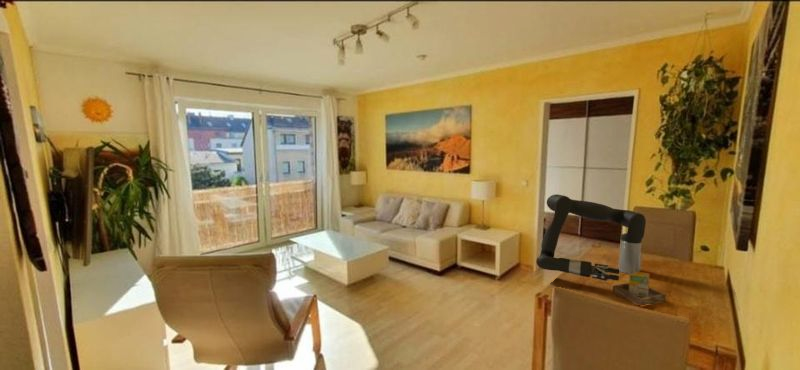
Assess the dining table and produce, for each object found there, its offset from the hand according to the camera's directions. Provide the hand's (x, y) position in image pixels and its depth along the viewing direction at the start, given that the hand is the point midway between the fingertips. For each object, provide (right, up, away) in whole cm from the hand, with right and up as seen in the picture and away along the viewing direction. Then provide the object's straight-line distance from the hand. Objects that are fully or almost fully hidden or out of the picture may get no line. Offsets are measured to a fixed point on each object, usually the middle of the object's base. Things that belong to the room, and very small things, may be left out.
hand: (619, 274), depth 154 cm
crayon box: (+7, -9, -3) cm, 11 cm away
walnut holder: (+7, -9, -3) cm, 12 cm away
